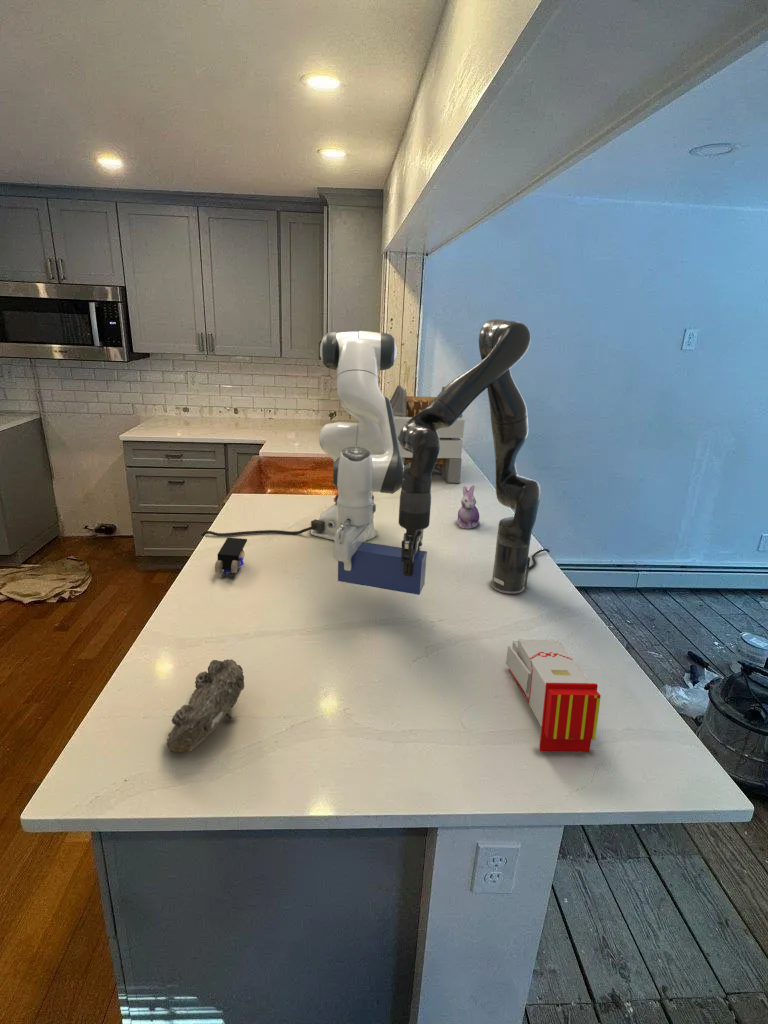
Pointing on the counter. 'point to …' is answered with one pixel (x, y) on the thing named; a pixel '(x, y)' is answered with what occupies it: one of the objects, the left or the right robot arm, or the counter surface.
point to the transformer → (449, 436)
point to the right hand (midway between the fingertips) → (411, 569)
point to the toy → (556, 694)
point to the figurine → (468, 510)
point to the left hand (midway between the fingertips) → (353, 563)
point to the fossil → (206, 705)
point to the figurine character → (230, 556)
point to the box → (384, 569)
